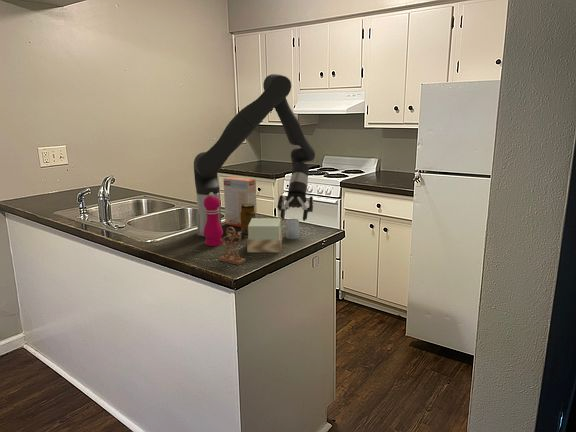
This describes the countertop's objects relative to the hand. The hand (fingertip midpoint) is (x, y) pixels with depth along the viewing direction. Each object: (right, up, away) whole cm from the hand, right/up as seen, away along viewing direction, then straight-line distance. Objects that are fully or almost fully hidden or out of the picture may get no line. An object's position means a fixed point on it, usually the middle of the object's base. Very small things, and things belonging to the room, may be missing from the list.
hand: (293, 219), depth 174 cm
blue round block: (0, -7, 0) cm, 7 cm away
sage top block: (-11, -6, -12) cm, 17 cm away
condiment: (-18, -6, +6) cm, 20 cm away
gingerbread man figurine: (-21, -14, -25) cm, 36 cm away
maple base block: (-11, -11, -11) cm, 19 cm away
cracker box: (-23, -3, +18) cm, 29 cm away
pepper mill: (-31, -9, -7) cm, 33 cm away
